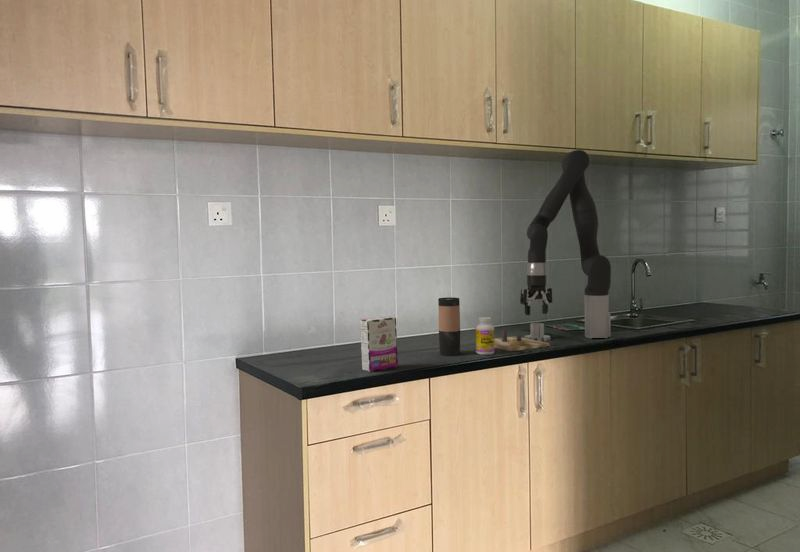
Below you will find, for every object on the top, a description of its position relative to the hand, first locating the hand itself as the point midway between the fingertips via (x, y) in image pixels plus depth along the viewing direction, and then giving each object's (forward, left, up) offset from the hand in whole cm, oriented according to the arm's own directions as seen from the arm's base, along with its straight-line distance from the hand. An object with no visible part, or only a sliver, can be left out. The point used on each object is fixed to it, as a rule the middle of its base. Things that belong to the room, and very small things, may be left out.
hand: (536, 314), depth 255 cm
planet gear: (0, 0, -10) cm, 10 cm away
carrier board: (+16, +5, -10) cm, 19 cm away
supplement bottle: (+35, +14, -10) cm, 39 cm away
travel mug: (+46, +8, -10) cm, 47 cm away
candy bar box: (+78, +17, -10) cm, 80 cm away
